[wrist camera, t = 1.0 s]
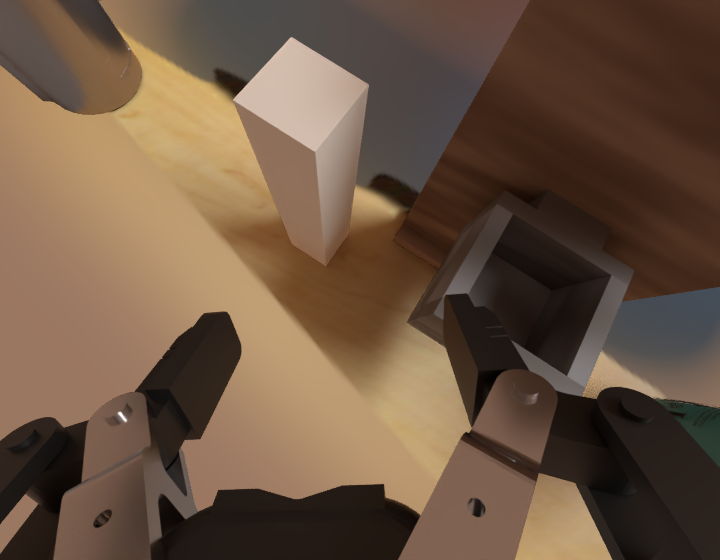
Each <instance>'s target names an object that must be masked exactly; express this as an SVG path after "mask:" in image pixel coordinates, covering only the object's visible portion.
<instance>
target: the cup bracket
mask: <svg viewBox="0 0 720 560" xmlns="http://www.w3.org/2000/svg"><path fill="white" fill-rule="evenodd" d="M393 241H394V242H396V243H397V244H399V245H401V246H402V247H404V248H405V249H407V250H408V251H410V252H412V253H413V254H415V255H416V256H418V257H419V258H421V259H422V260H424V261H426V262H427V263H429V264H430V265H432V266H433V267H435V268H437V269H438V271H437V272H436V274H435V276H434V277H433V279H432V281H431V282H430V284H429V286H428V287H427V289H426V291H425V292H424V294H423V296H422V297H421V299H420V301H419V302H418V304H417V306H416V307H415V309H414V311H413V312H412V314H411V316H410V317H409V319H408V321H407V323H409V324H410V325H412V326H413V327H415V328H416V329H418V330H419V331H421V332H423V333H424V334H426V335H427V336H429V337H430V338H432V339H433V340H435V341H436V342H438V343H439V344H441V345H442V346H444V347H445V343H444V337H443V316H444V297H445V295H450V294H463V293H467V294H468V295H469V297H470V299H471V301H472V303H473V305H474V307H479V306H485V307H486V308H487V309H489V310H490V311H491V312H493V313H494V314H495V315H496V316H497V318H498V319H499V321H500V323H501V324H502V327H503V328H504V329H505V331H506V332H507V334H508V337H510V339H511V341H512V342H513V344H514V346H515V347H516V349H517V351H518V352H519V354H520V356H521V357H522V359H523V361H524V362H525V364H526V366H527V367H528V369H529V370H530V371H531V372H533V373H536V374H538V375H540V376H541V377H543V378H544V379H546V380H547V381H548V382H549V383H550V384H551V385H552V386H553V387H554V389H555V390H557V391H560V392H563V393H567V394H572V395H577V396H582V394H583V392H584V390H585V387H586V385H587V383H588V380H589V378H590V375H591V373H592V371H593V368H594V366H595V364H596V361H597V359H598V356H599V354H600V352H601V349H602V346H603V345H604V342H605V340H606V337H607V335H608V333H609V330H610V328H611V325H612V323H613V321H614V318H615V316H616V314H617V311H618V309H619V307H620V304H621V302H623V301H630V300H636V299H643V298H649V297H656V296H662V295H669V294H676V293H682V292H688V291H695V290H701V289H708V288H714V287H720V0H530V2H529V3H528V5H527V7H526V9H525V10H524V12H523V14H522V16H521V17H520V19H519V21H518V23H517V24H516V26H515V28H514V30H513V31H512V33H511V35H510V37H509V38H508V40H507V42H506V44H505V45H504V47H503V49H502V51H501V53H500V54H499V56H498V58H497V59H496V61H495V63H494V65H493V66H492V68H491V70H490V72H489V73H488V75H487V77H486V79H485V81H484V82H483V84H482V86H481V88H480V89H479V91H478V93H477V95H476V96H475V98H474V100H473V102H472V103H471V105H470V107H469V109H468V110H467V112H466V114H465V116H464V117H463V119H462V121H461V123H460V124H459V126H458V128H457V130H456V131H455V133H454V135H453V137H452V138H451V140H450V142H449V144H448V145H447V147H446V149H445V151H444V153H443V154H442V156H441V158H440V160H439V161H438V163H437V165H436V167H435V168H434V170H433V172H432V173H431V175H430V177H429V179H428V181H427V182H426V184H425V186H424V188H423V189H422V191H421V193H420V195H419V196H418V198H417V200H416V202H415V203H414V205H413V207H412V209H411V210H410V212H409V214H408V216H407V217H406V219H405V221H404V223H403V224H402V226H401V227H400V229H399V230H398V232H397V233H396V235H395V237H394V238H393Z"/></svg>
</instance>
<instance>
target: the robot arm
mask: <svg viewBox="0 0 720 560" xmlns="http://www.w3.org/2000/svg"><path fill="white" fill-rule="evenodd" d="M0 65H1V66H2V67H4V68H5V69H6V70H7V71H8V72H9V73H11V74H12V75H13V76H14V77H16V78H17V79H18V80H19V81H20V82H21V83H22V84H24V85H25V86H26V87H27V88H28V89H30V90H31V91H32V92H33V93H34V94H36V95H37V96H38V97H39V98H40V99H41V100H43V101H51V102H55V103H57V104H58V105H60V106H61V107H62V108H64V109H66V110H69V111H71V112H74V113H79V114H88V115H89V114H90V115H95V114H102V113H106V112H109V111H112V110H115V109H117V108H119V107H121V106H122V105H124V104H125V103H126V102H128V101H129V100H130V99H131V98H132V97H133V96H134V94H135V93H136V92H137V90H138V88H139V86H140V83H141V79H142V69H141V66H140V63H139V61H138V59H137V58H136V56H135V55H134V53H133V52H132V50H131V49H130V47H129V45H128V44H127V42H126V41H125V40H124V39H123V37H122V36H121V34H120V33H119V31H118V30H117V28H116V27H115V25H114V24H113V22H112V21H111V19H110V18H109V16H108V15H107V13H106V12H105V10H104V9H103V7H102V6H101V4H100V3H99V1H98V0H0ZM443 337H444V343H445V347H446V350H447V353H448V356H449V359H450V362H451V365H452V369H453V372H454V375H455V378H456V381H457V384H458V387H459V390H460V393H461V397H462V400H463V403H464V406H465V409H466V412H467V415H468V418H469V421H470V425H471V427H472V429H471V431H470V432H469V433H467V432H465V433H464V434H463V436H462V437H461V439H460V440H459V442H458V444H457V446H456V448H455V450H454V452H453V454H452V456H451V458H450V460H449V462H448V464H447V466H446V467H445V469H444V471H443V473H442V475H441V477H440V479H439V481H438V483H437V485H436V487H435V489H434V491H433V493H432V495H431V497H430V499H429V501H428V502H427V504H426V506H425V508H424V510H423V512H422V514H421V515H419V514H418V513H417V512H416V511H414V510H413V509H411V508H409V507H408V506H406V505H404V504H402V503H400V502H398V501H395V500H392V499H389V498H386V497H385V490H384V484H374V485H349V486H348V485H347V486H340V487H336V488H333V489H330V490H327V491H324V492H321V493H318V494H315V495H312V496H309V497H306V498H303V499H292V498H288V497H285V496H281V495H278V494H274V493H271V492H267V491H264V490H261V489H235V490H218V492H217V495H216V498H215V500H214V503H213V505H212V506H210V507H208V508H205V509H203V510H201V511H199V512H198V511H197V508H196V506H195V503H194V499H193V494H192V490H191V485H190V481H189V476H188V471H187V467H186V462H185V457H184V453H183V451H182V450H181V448H180V447H181V446H182V444H183V442H184V440H194V439H201V437H202V435H203V433H204V431H205V429H206V427H207V425H208V423H209V420H210V418H211V416H212V414H213V412H214V410H215V408H216V406H217V404H218V402H219V400H220V398H221V396H222V394H223V392H224V390H225V388H226V386H227V384H228V382H229V380H230V378H231V376H232V374H233V372H234V370H235V368H236V366H237V364H238V362H239V359H240V356H241V343H240V340H239V338H238V335H237V333H236V330H235V328H234V325H233V323H232V320H231V318H230V316H229V314H228V313H227V312H212V313H204V314H203V315H202V316H201V317H200V318H199V320H198V321H197V322H196V324H195V325H194V326H193V327H191V328H190V329H188V330H187V331H186V332H184V333H183V334H182V335H180V336H179V337H178V338H177V339H176V340H175V342H174V343H173V344H172V345H171V347H170V350H168V351H167V352H166V353H165V354H164V356H163V357H162V359H160V361H159V362H158V363H157V364H156V366H155V367H154V368H153V369H152V370H151V372H150V373H149V374H148V376H147V377H146V378H145V379H144V380H143V382H142V383H141V384H140V386H139V387H138V388H137V389H136V390H135V392H130V393H126V394H123V395H120V396H118V397H116V398H114V399H112V400H110V401H109V402H107V403H106V404H104V405H103V406H102V407H101V408H99V409H98V410H97V411H96V412H95V413H94V415H93V416H92V417H91V418H90V420H88V421H84V422H81V423H78V424H75V425H72V426H69V427H65V428H64V427H63V426H62V425H61V424H60V423H59V422H58V421H57V420H56V419H54V418H51V417H45V418H40V419H37V420H34V421H31V422H29V423H27V424H25V425H23V426H21V427H19V428H18V429H16V430H14V431H13V432H11V433H10V434H9V435H7V436H6V437H5V438H3V439H2V440H1V441H0V524H1V522H2V521H3V520H4V519H5V518H6V516H7V515H8V514H9V513H10V511H11V510H12V509H13V508H14V507H15V505H16V504H17V503H18V502H19V501H20V499H21V498H22V497H23V496H24V495H25V494H27V495H28V496H29V497H30V498H32V499H33V500H34V501H35V502H37V503H38V505H37V507H36V508H35V509H34V510H33V512H32V513H31V514H30V516H29V517H28V519H27V520H26V521H25V522H24V524H23V525H22V526H21V527H20V529H19V530H18V531H17V533H16V534H15V535H14V537H13V538H12V539H11V540H10V542H9V543H8V544H7V546H6V547H5V548H4V550H3V551H2V553H1V554H0V560H515V557H516V553H517V549H518V546H519V542H520V539H521V535H522V532H523V528H524V524H525V521H526V517H527V514H528V510H529V506H530V503H531V499H532V496H533V492H534V488H535V485H536V481H537V477H538V473H542V474H546V475H549V476H553V477H556V478H560V479H563V480H567V481H570V482H574V483H576V485H577V487H578V490H579V492H580V494H581V496H582V498H583V500H584V502H585V504H586V506H587V508H588V510H589V512H590V514H591V516H592V518H593V520H594V522H595V524H596V526H597V529H598V531H599V533H600V535H601V537H602V539H603V541H604V543H605V545H606V547H607V549H608V551H609V553H610V555H611V557H612V559H613V560H720V467H719V466H718V465H717V464H716V463H715V462H714V461H713V460H712V459H711V457H710V456H709V455H708V454H707V453H706V452H705V451H704V450H703V449H702V447H701V446H700V445H699V444H698V443H697V442H696V441H695V440H694V438H693V437H692V436H691V435H690V434H689V433H688V432H687V431H686V430H685V428H684V427H683V426H682V425H681V424H680V423H679V422H678V421H677V420H676V418H675V417H674V416H673V415H672V414H671V413H670V412H669V411H668V410H667V409H666V408H665V407H664V406H663V405H662V404H660V403H659V402H657V401H656V400H654V399H653V398H651V397H649V396H647V395H645V394H643V393H641V392H638V391H635V390H632V389H628V388H623V387H610V388H606V389H604V390H602V391H601V392H600V393H599V395H598V397H597V399H592V398H587V397H582V396H577V395H572V394H567V393H563V392H560V391H557V390H555V389H554V387H553V386H552V385H551V384H550V383H549V382H548V381H547V380H546V379H544V378H543V377H541V376H540V375H538V374H536V373H533V372H531V371H530V370H529V369H528V367H527V366H526V364H525V362H524V361H523V359H522V357H521V356H520V354H519V352H518V351H517V349H516V347H515V346H514V344H513V342H512V341H511V339H510V337H508V334H507V332H506V331H505V329H504V328H503V327H502V324H501V323H500V321H499V319H498V318H497V316H496V315H495V314H494V313H493V312H491V311H490V310H489V309H487V308H486V307H485V306H479V307H474V305H473V303H472V301H471V299H470V297H469V295H468V294H467V293H463V294H450V295H445V297H444V316H443Z"/></svg>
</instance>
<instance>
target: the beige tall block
mask: <svg viewBox="0 0 720 560" xmlns="http://www.w3.org/2000/svg"><path fill="white" fill-rule="evenodd" d="M368 87H369V85H368V84H367V83H365V82H363V81H362V80H360V79H359V78H357V77H355V76H354V75H352V74H350V73H349V72H347V71H346V70H344V69H342V68H341V67H339V66H337V65H336V64H334V63H333V62H331V61H329V60H328V59H326V58H324V57H323V56H321V55H320V54H318V53H316V52H315V51H313V50H311V49H310V48H308V47H307V46H305V45H303V44H302V43H300V42H298V41H297V40H295V39H294V38H292V37H291V38H290V39H289V40H288V41H287V42H286V43H285V44H284V45H283V47H282V48H281V49H280V50H279V51H278V52H277V53H276V54H275V55H274V56H273V57H272V58H271V60H270V61H269V62H268V63H267V64H266V65H265V66H264V67H263V68H262V69H261V70H260V71H259V73H258V74H257V75H256V76H255V77H254V78H253V79H252V80H251V81H250V82H249V83H248V84H247V85H246V86H245V87H244V89H243V90H242V91H241V92H240V93H239V94H238V95H237V96H236V97H235V98H234V99H233V102H234V104H235V106H236V109H237V111H238V114H239V116H240V119H241V121H242V124H243V126H244V128H245V131H246V133H247V136H248V138H249V141H250V143H251V146H252V148H253V151H254V153H255V155H256V158H257V160H258V163H259V165H260V168H261V170H262V173H263V175H264V177H265V180H266V182H267V185H268V187H269V190H270V192H271V195H272V197H273V200H274V202H275V204H276V207H277V209H278V212H279V214H280V217H281V219H282V222H283V224H284V226H285V229H286V231H287V234H288V236H289V239H290V241H291V244H292V245H294V246H295V247H297V248H298V249H300V250H301V251H303V252H304V253H306V254H307V255H309V256H310V257H312V258H314V259H315V260H317V261H318V262H320V263H321V264H323V265H324V266H327V264H328V263H329V261H330V260H331V258H332V257H333V256H334V254H335V253H336V251H337V250H338V249H339V247H340V246H341V244H342V243H343V241H344V240H345V239H346V237H347V236H348V234H349V226H350V219H351V212H352V204H353V197H354V190H355V182H356V175H357V168H358V160H359V152H360V145H361V138H362V131H363V123H364V116H365V109H366V102H367V93H368Z"/></svg>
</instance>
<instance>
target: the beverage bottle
mask: <svg viewBox="0 0 720 560" xmlns="http://www.w3.org/2000/svg"><path fill="white" fill-rule="evenodd" d="M653 398H655V397H653ZM654 400H656V401H657V402H659V403H660V404H662V405H663V406H664V407H665V408H666V409H667V410H668V411H669V412H670V413H671V414H672V415H673V416H674V417H675V418H676V420H677V421H678V422H679V423H680V424H681V425H682V426H683V427H684V428H685V430H686V431H687V432H688V433H689V434H690V435H691V436H692V437H693V438H694V440H695V441H696V442H697V443H698V444H699V445H700V446H701V447H702V449H703V450H704V451H705V452H706V453H707V454H708V455H709V456H710V457H711V459H712V460H713V461H714V462H715V463H716V464H717V465H718V466H719V467H720V409H719V408H714V407H709V406H704V405H699V404H694V403H692V402H685V401H676V402H675V400H666V399H659V398H656V399H654ZM680 402H683V403H680ZM686 403H689V404H686ZM692 404H694V405H692Z"/></svg>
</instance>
